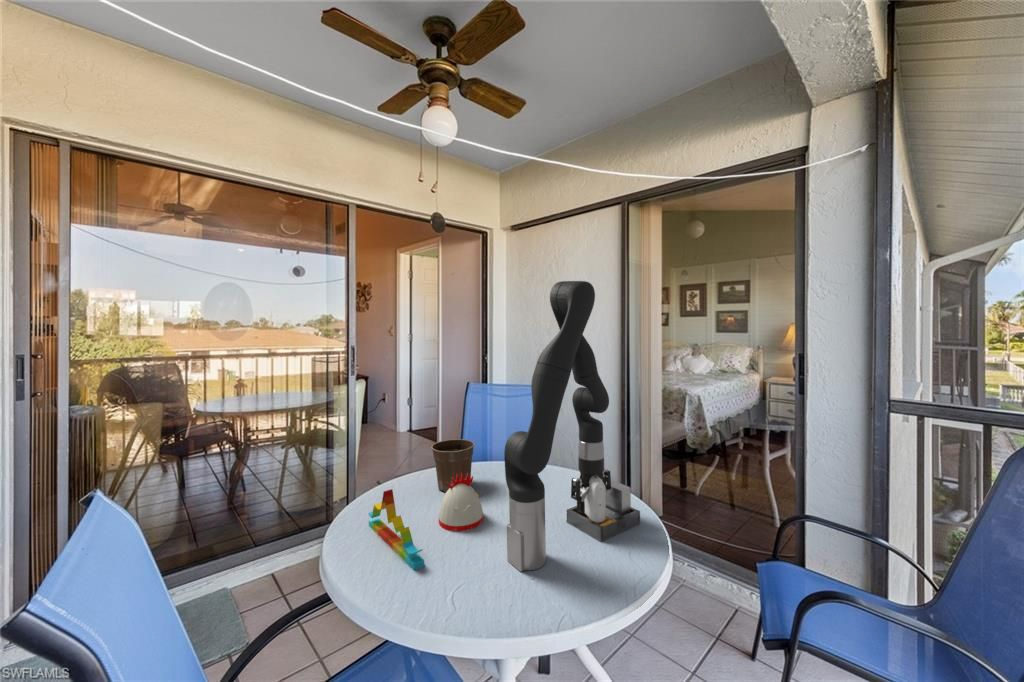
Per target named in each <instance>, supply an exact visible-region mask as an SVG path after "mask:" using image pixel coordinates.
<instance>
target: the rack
mask: <svg viewBox="0 0 1024 682" xmlns="http://www.w3.org/2000/svg"><path fill="white" fill-rule="evenodd" d="M606 484H607V482H606ZM631 490H632V489H631V487H630V486H628V485H625V484H623V483H620V482H617V481H615V480H613V479H611V489H610V490H607V493H606V514H605V520H604V521H603V522H600V523H597V522H594V521H593V520H591V519H590V518H589V517H588V516H587V515H586V514H585V513H583V514H582V513H580V512H578V510H577V505H576V506H573V507H570V508H567V509H566V523H567V524H569V525H570V526H573V527H574V528H576V529H577V530H579V531H581V532H583V533H584V534H586V535H588V536H590V537H591V538H593V539H595V540H596V541H598V542H600V543H602V542H604V541H606V540H608V539H611V538H613V537H614V536H615V537H616V536H617V535H619V534H621V533H624V532H626V531H628V530H629V529H632V528H634V527H637V526H638V525H640V524H641V511H640V510H638V509H636V508H634V507H632V503H631V502H632V501H631V497H632V496H631V493H632V492H631Z"/></svg>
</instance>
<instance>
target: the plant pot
mask: <svg viewBox="0 0 1024 682" xmlns="http://www.w3.org/2000/svg"><path fill="white" fill-rule="evenodd" d="M474 447H475V443H474V441H472V440H470V439H462V438H458V439H457V438H455V439H446V440H440V441H436V442H435V443H433V444H432V445H431V450H432V454H433V455H432V456H433V459H434V463H435V471H436V478H437V479H436V480H437V489H438V490H439V491H441V492H442V491H443V492H444V493H446V492H447V491H448V490H449V488H450V487H449V485H448V483H449V484H450V485H453V481H452V478H453V479H454V480H455V481H456V476H457V474H458V476H459V480H461V474H463V477H464V479H466V476H467V473H468V474H469V479H471V477H472V460H473V455H474ZM447 482H448V483H447Z"/></svg>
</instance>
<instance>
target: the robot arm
mask: <svg viewBox="0 0 1024 682" xmlns="http://www.w3.org/2000/svg"><path fill="white" fill-rule="evenodd" d="M550 289H551V290H550V291H549V302H550V307H551V310H552V312H553V315H554V318H555V321H556V322H557V323H556V324H557V326H558V328H559V331H558V332H557V334H556V335H555V336H554V337H553V338H552V340H550V342H549V343H548V344H547V345H546V347H545V348H544V349H543V350H542V352H540V355H539V356H538V358H537V360H536V364H535V367H534V370H533V371H534V372H533V374H532V379H531V388H530V389H531V399H532V413H531V414H532V415H531V418H530V419H531V420H530V424H529V426H528V430H527V431H523V430H519V431H515V432H513V433H512V434H511V435H509V437H507V440H506V442H505V445H504V454H503V456H504V471H505V472H504V476H505V482H506V486H507V488H508V495H509V497H508V499H509V500H508V501H509V503H508V505H509V524H507V525H506V553H507V554H506V556H507V557H506V559H507V560H506V561H507V562H508V563H510V564H511V566H513V567H514V568H516V569H517V570H518V571H519V572H523V571H534V570H538V569H540V568H542V567H543V566H544V565H545V564H546V561H547V552H546V551H547V546H546V543H547V541H546V489H545V484H544V482H543V481H542V479H541V477H540V476H539V474H540V473H542V472H543V471H544V469H545V468H546V467H547V465H548V463H549V460H550V458H551V453H552V449H553V443H554V438H555V433H556V429H557V428H556V427H557V423H558V418H559V414H560V412H561V411H560V410H561V407H562V403H563V399H564V396H565V392H566V390H567V386H568V384H569V380H570V377H571V374H572V375H573V381H574V382H575V383H576V384H577V385H579V386H580V387H577V388H576V389H575V390H574V392H573V394H572V399H571V400H572V401H571V402H572V407H573V411H574V413H575V416H576V421H577V425H578V446H577V447H578V448H577V449H578V451H577V454H578V459H577V460H578V461H577V462H578V463H577V464H578V470H579V473H580V475H579V477H577V478H575V477H572V478H571V489H570V490H571V491H570V498H571V499H573V500H575V501H576V506H577V510H578V512H580V513H582V514H583V513H585V501H584V500H585V497H586V495H588V494H589V492H590V485H589V480H590V478H591V477H592V476H594V475H597V476H598V477H599V478H600V479H601V480H602V481H603V483H604V485H605V487H606V493H607V490H610V489H611V480H612V478H611V470H608V469H605V447H604V425H603V423H602V421H600V420H599V419H597V418H594V417H593V416H592V415H591V414H590V413H594V414H595V413H596V414H603V413H605V412H606V411H607V410H608V408H609V406H610V397H609V393H608V392H607V389H606V387H605V384H604V383H603V380H602V379H601V377H600V374H599V372H598V371H599V370H598V366H597V360H596V357H595V353H594V351H593V348H592V346H591V345H590V343H589V341H588V340H587V339H586V337H585V336H584V335H583V334H584V332H585V329H586V326H587V324H588V321H589V319H590V316H591V314H592V312H593V309H594V306H595V301H596V300H595V299H596V291H595V289H594V286H593V284H592V283H591V282H590V281H585V280H566V281H564V280H563V281H558V282H556V283H554V284H553V286H552V287H551V288H550ZM606 482H607V484H606ZM583 487H584V488H585V489H586V490H583ZM581 493H583V494H582V496H581Z"/></svg>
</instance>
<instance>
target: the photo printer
mask: <svg viewBox="0 0 1024 682" xmlns="http://www.w3.org/2000/svg"><path fill="white" fill-rule="evenodd" d="M589 485H590V492H589V494H588V495H586V497H585V500H584V501H585V514H586V515H587V516H588V517H589V518H590V519H591V520H593V521H594V522H597V523H600V522H603V521H604V520H605V514H606V487H605V485H604V483H603V481H602V480H601V479H600V478H599V477H598V476H597V475H594V476H592V477H591V478H590V480H589ZM583 490H586V489H585V488H584V487H583ZM582 494H583V493H581V496H582Z"/></svg>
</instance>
